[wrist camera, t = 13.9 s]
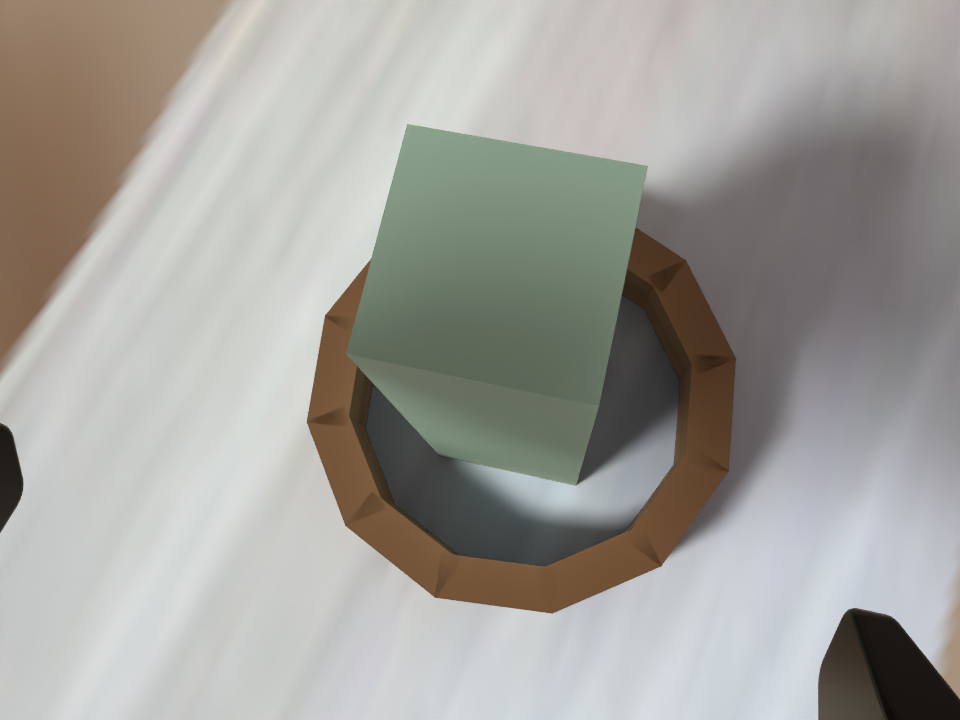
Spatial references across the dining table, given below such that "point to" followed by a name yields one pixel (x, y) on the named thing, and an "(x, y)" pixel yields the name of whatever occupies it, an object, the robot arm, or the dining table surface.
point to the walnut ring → (643, 547)
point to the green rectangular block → (498, 297)
